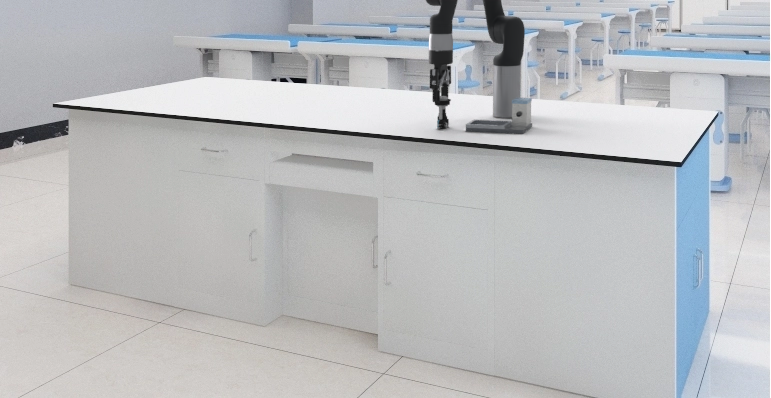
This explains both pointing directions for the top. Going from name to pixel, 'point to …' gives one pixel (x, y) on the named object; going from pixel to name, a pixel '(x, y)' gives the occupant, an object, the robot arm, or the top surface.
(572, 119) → the top surface
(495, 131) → the base
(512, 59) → the robot arm
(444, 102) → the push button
